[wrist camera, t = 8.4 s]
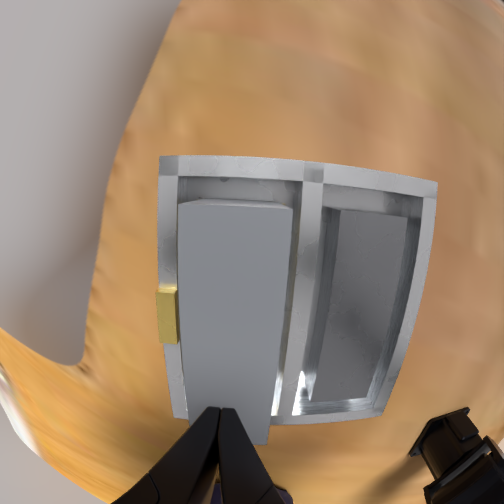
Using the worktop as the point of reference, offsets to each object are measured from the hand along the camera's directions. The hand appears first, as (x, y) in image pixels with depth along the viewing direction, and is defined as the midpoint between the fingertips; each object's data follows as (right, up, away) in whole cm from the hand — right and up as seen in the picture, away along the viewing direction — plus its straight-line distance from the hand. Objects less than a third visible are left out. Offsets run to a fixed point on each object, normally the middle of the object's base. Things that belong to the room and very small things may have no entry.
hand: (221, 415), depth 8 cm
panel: (0, +2, +9) cm, 9 cm away
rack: (+4, +2, +10) cm, 11 cm away
